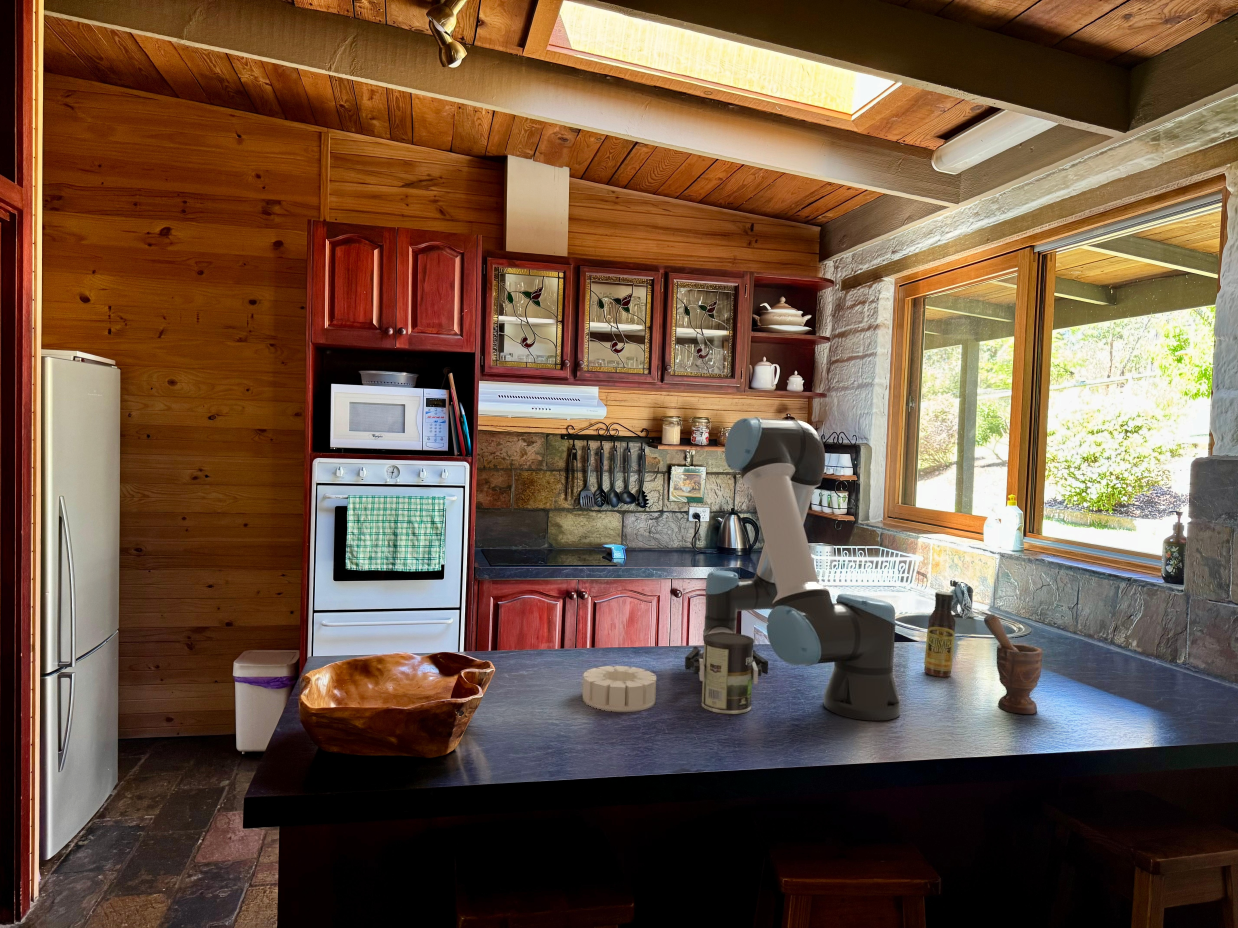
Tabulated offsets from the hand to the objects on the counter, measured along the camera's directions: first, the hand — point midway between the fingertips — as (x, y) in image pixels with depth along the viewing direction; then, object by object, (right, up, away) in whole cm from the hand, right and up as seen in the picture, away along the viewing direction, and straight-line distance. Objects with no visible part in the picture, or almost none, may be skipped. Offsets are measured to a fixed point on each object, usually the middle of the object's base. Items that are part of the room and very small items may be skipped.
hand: (729, 675), depth 163 cm
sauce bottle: (+55, -9, +34) cm, 65 cm away
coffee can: (0, -8, +4) cm, 9 cm away
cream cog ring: (-22, -7, +6) cm, 24 cm away
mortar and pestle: (+60, -10, +9) cm, 62 cm away
